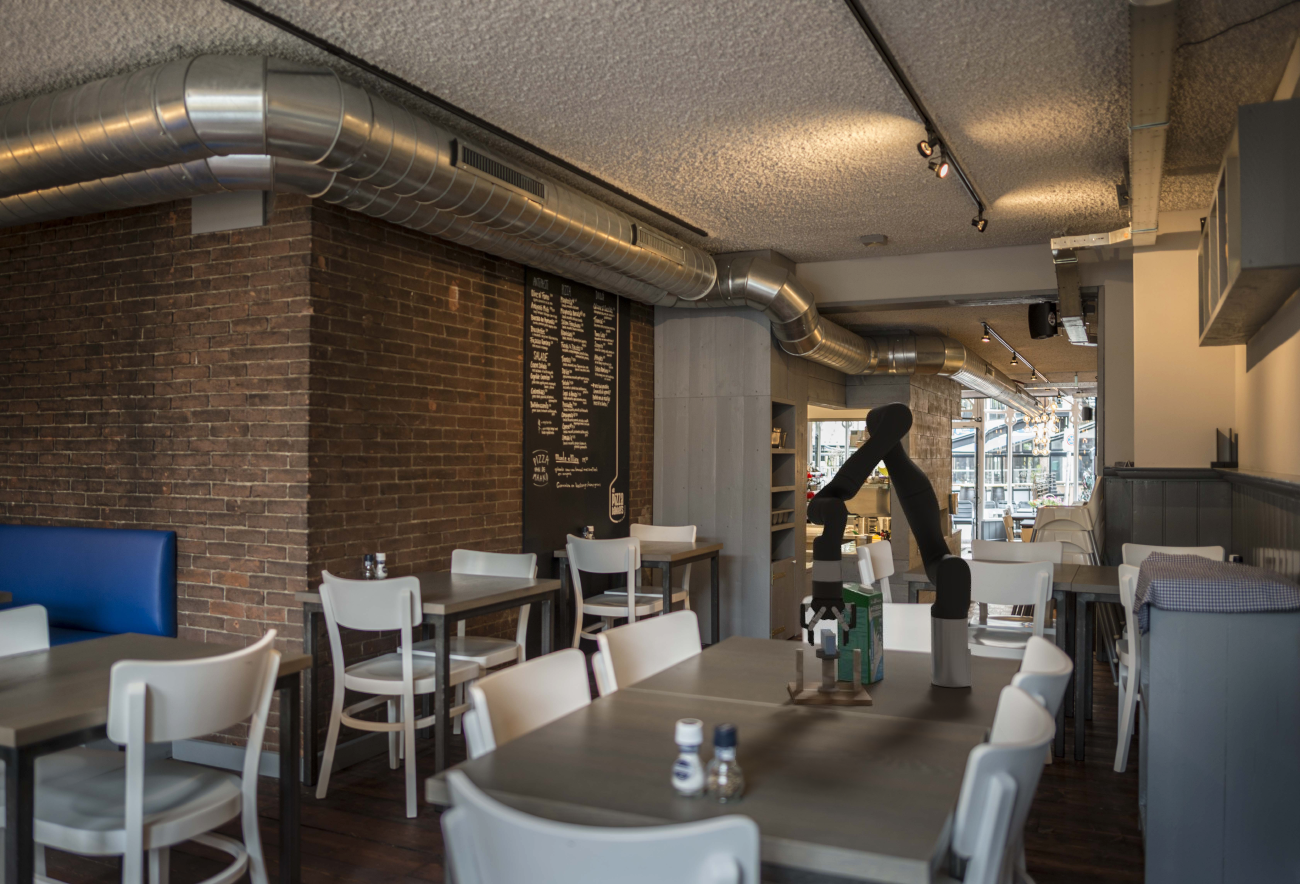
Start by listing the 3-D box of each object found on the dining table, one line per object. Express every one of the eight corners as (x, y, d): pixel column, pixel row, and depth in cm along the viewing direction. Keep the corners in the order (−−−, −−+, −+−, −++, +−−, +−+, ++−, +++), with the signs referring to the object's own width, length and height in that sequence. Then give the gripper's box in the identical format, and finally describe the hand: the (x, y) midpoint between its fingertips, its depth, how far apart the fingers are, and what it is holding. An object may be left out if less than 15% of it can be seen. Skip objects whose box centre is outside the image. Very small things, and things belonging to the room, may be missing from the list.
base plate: (859, 687, 237) (859, 643, 238) (872, 704, 219) (871, 656, 220) (788, 686, 238) (787, 642, 239) (795, 704, 220) (794, 656, 221)
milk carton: (869, 684, 241) (868, 587, 242) (837, 679, 246) (836, 584, 247) (883, 678, 248) (882, 583, 249) (852, 673, 254) (851, 581, 254)
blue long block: (837, 653, 234) (837, 627, 234) (843, 661, 224) (843, 634, 224) (813, 652, 234) (813, 627, 235) (818, 660, 224) (818, 634, 225)
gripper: (854, 576, 233) (855, 643, 233) (796, 576, 234) (797, 642, 234) (859, 580, 226) (860, 648, 225) (799, 580, 227) (800, 648, 226)
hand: (828, 645), depth 229 cm, fingers open, 7 cm apart
